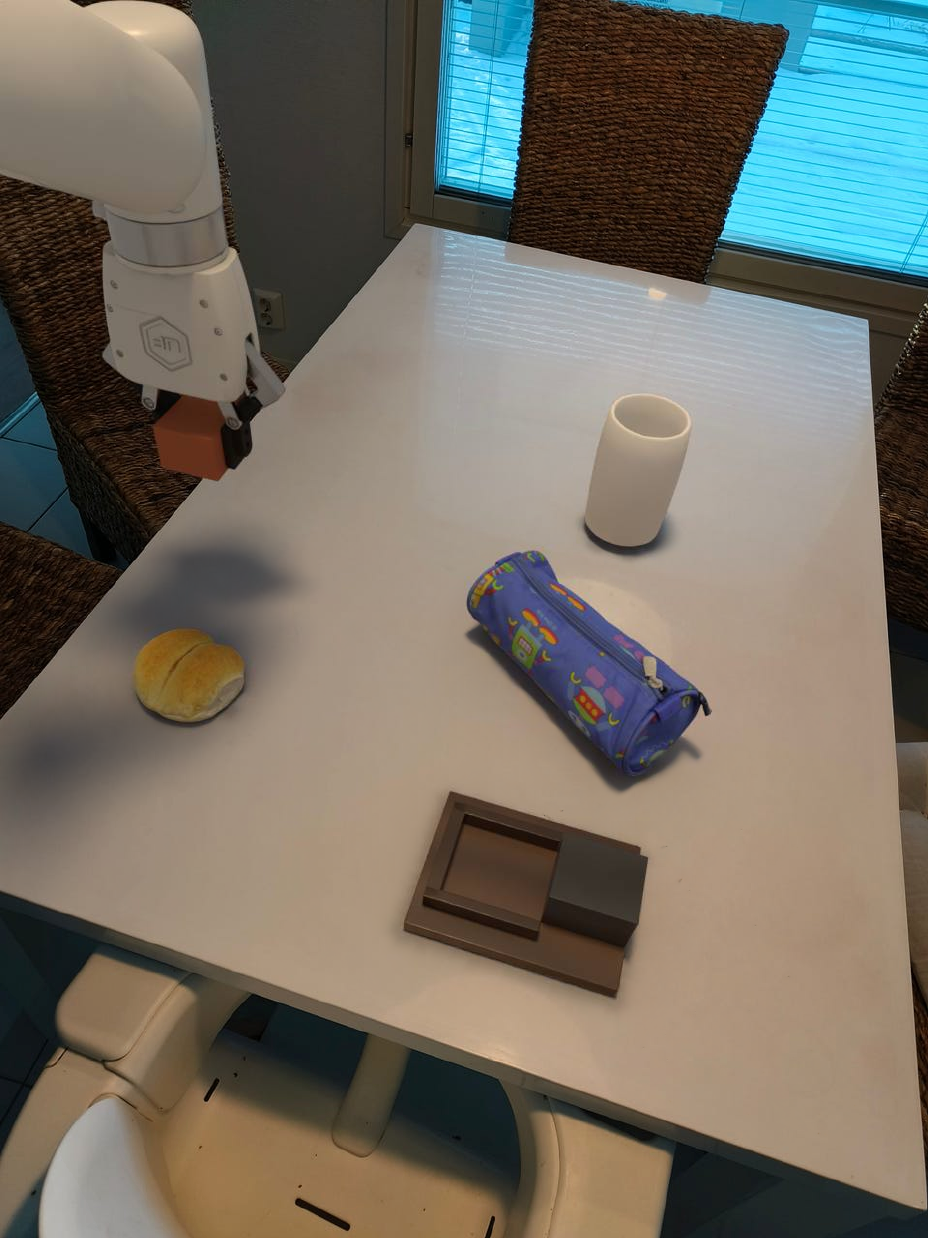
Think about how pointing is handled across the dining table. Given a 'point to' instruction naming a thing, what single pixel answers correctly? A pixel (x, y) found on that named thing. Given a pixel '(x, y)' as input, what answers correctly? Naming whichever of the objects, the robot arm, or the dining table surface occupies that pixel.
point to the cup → (636, 468)
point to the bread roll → (187, 675)
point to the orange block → (192, 438)
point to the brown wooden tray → (530, 892)
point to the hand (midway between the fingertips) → (206, 450)
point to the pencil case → (584, 662)
